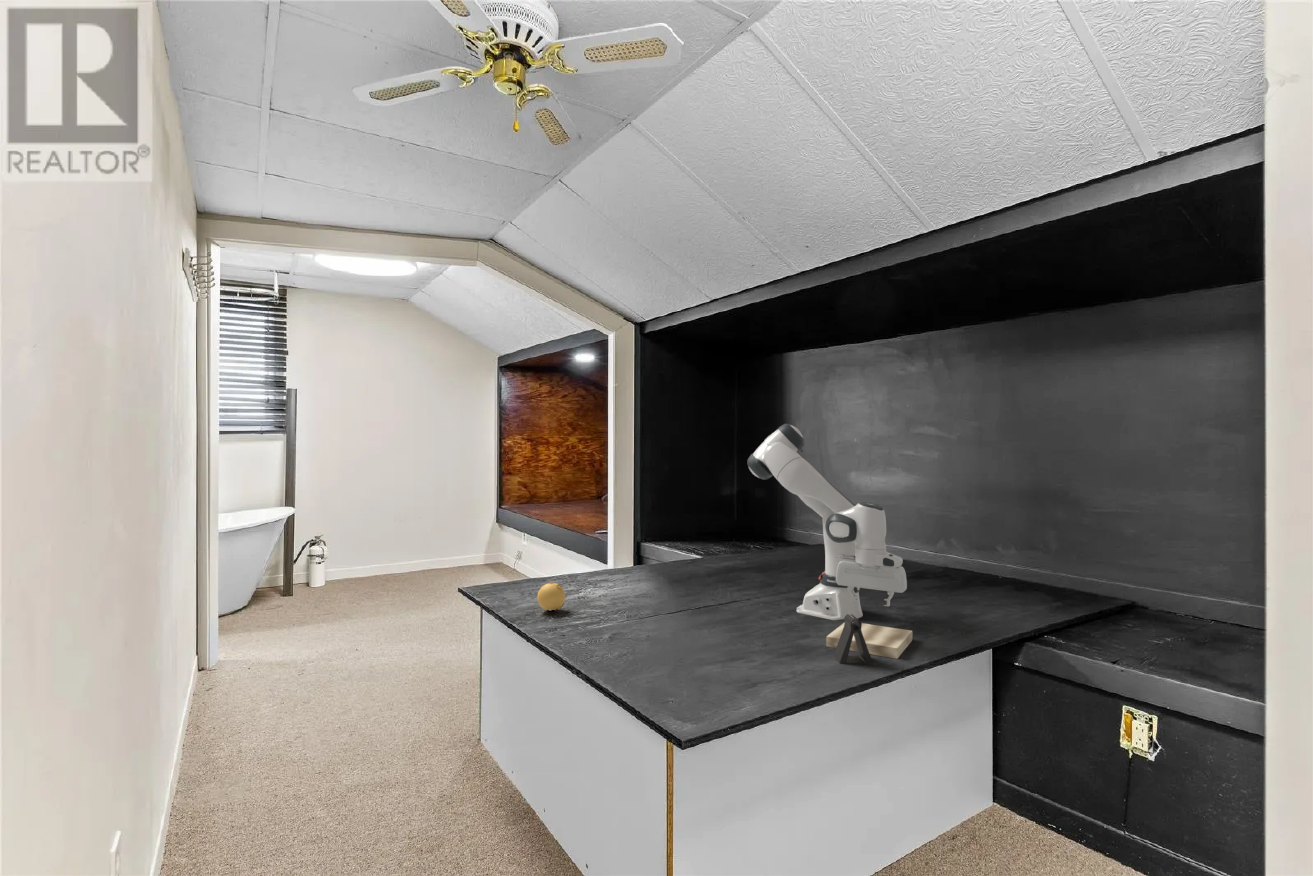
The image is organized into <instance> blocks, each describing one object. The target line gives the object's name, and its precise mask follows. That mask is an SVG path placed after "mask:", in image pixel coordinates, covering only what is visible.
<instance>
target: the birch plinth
mask: <svg viewBox="0 0 1313 876" xmlns="http://www.w3.org/2000/svg"><path fill="white" fill-rule="evenodd" d="M852 623H853V622H852ZM844 624H845V621H844V622H843V623H842V624H840V625H839V626H838V627H837V628H835V629H834V630H833V631H832V632H830V633H828V635H827V636H826V642H825V645H826V648H827V647H828V648H832V649H834V648H835V649H836V647H837V645H838V642H839V639H840V636H841V633H842V631H843V628H844ZM861 624H862V627H861V631H862V634H863V637H864V640H865V642H866V645H867V648H868V651H869V654H870V655H874V656H879V657H880V656H881V657H884V658H885V657H886V658H891V659H896V660H897V659H898V658H899V657H900V656H901V655H902V654H903V652H905V650H906V648H907V647H909V645H910V644H911V643H912V641H913V630H909V629H903V628H897V627H896V628H895V627H889V626H882V625H874V624H869V623H863V622H861ZM850 651H851V652H856V653H859V652H858V649H857V645H856V641H855V637H854V635H853V638H852V642H851V646H850V650H849V652H850Z"/></svg>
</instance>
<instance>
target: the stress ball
mask: <svg viewBox="0 0 1313 876" xmlns="http://www.w3.org/2000/svg"><path fill="white" fill-rule="evenodd" d="M565 601H566V592H565V590H564V587H563V586H562V585H560V584H557V583H556V582H553V581H551V582H548V583H546V584H543V585H542V586H541V588H539V590H538V592H537V603H538V605H539V606H540V608H541V609H543V610H544V609H558V610H559V609H562V608H563V607H564V605H565Z"/></svg>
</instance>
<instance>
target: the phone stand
mask: <svg viewBox="0 0 1313 876" xmlns="http://www.w3.org/2000/svg"><path fill="white" fill-rule="evenodd" d="M851 615H852V614H851ZM852 616H853V617H854V619H853V618H852V617H851V616H850V615H848V614H847V615H846V616H845V617H844V619H843V621H844V622H845V624H844V628H843V631H842V633H841V636H840V639H839V642H838V645H837V647H836V648H835V650H834V653H833V657H834V658H835V659H836V661H837V662H838V663H839V664H846V665H847V664H849V665H850V664H854V665H855V664H871V665H872V664H873V663H874V662H873V659H872V656H871V654H869V651H868V648H867V645H866V642H865V640H864V637H863V634H862V631H861V627H862V624H861V623H862V622H861V621H860V620H859V618H856V617H855V616H854V615H852ZM852 622H853V623H852ZM853 635H854V637H855V641H856V645H857V649H858V652H857V653H858V655H849V652H850V646H851V642H852V638H853Z"/></svg>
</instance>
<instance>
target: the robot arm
mask: <svg viewBox="0 0 1313 876" xmlns="http://www.w3.org/2000/svg"><path fill="white" fill-rule="evenodd" d="M804 446H805V439H804V436H803V434H802V432H801V430H799V429H798V428H797V427H796V426H794V425H792V424H789V423H784V424H782V425H781V426H779V427H777V429H776V430H775V431H774V432H772V433H771V434H769V435H768V436H767V437H766V438H765V439H764V441H763V442H761V444H760V445H759V446H758V447H757V448H756V449H755V451H754V452H753V453H751V454H750V456H749V457H748V459H747V460H746V461H747V463H746V464H747V466H748V469H749V471H750V472H751V474H752V475H754V477H757V478H758V479H761V480H769V479H770V478H772V477H774V478H775V479H776V480H777V482H779V484H780V485H781V487H783V488H784V489H786V491H788V492H790V493H791V494H793V495H796V497H797V496H798V498H799V499H800V500H801V501H802V502H803V503H804V505H806V506H807V507H809V508H810V509H812V510H813V512H815V513H817V514H818V515H819V516H820V517H821V518H822V533H823V534H822V535H823V542H824V554H825V555H824V556H825V559H824V561H825V562H824V563H825V565H824V567H825V568H824V571H823V572H822V573H821V574H820V575H819V576H818V580H819V584H817V585H815V586H813V588H811V589H810V590H808V591H807V592H806V593H805V595H804V597H803V601H802V604H800V605H799V606H797V607H796V612H797V613H798V614H801V615H802V614H803V615H808V616H811V617H812V616H813V617H817V618H821V619H827V620H831V621H841V620H844V617H845V616H846V615H847V614H848V615H850V616H851V617H852V618H853V619H854V617H853V616H852V615H854V616H855V617H856V618H857V619H860V618H862V617H863V615H864V614H863V611H862V607H861V601H860V593H859V592H860V590H861V589H867V590H877V591H883V592H887V595H888V597H887V598H884V599H883V606H884V607H890V606H891V600H892V598H893V596H894V595H895V593H898V594H899V593H900V594H901V593H902V594H903V593H904V592H905V591H906V590H907V589H908V581H907V574H906V570H905V568H904V567H903V566H902V565H903V563H904V562H903V561H904V560H903V558H902V557H901V556H898V555H897V554H894V553H891V552H888V551H887V544H886V536H887V518H886V512H885V509H884V508H883V506H881V505H880V504H877V503H874V502H868V501H860V502H858V503H857V504H854V503H853V501H851V500H850V499H849V498H848V497H846V496H845V495H844V494H843V493H842V492H841V491H840V490H839V489H838V488H837V487H835V486H834V485H833V484H832V483H830V482H829V481H828V480H827V479H826V478H824V476H823V475H821V473H820V472H818V470H816V468H815V467H814V466H813V465H812V464H811V463H809V461H807V460H806V459H804V458H803V457H802V455H800V454H799V453H798V452H801V453H803V452H804V450H803V448H804ZM851 614H852V615H851Z"/></svg>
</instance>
